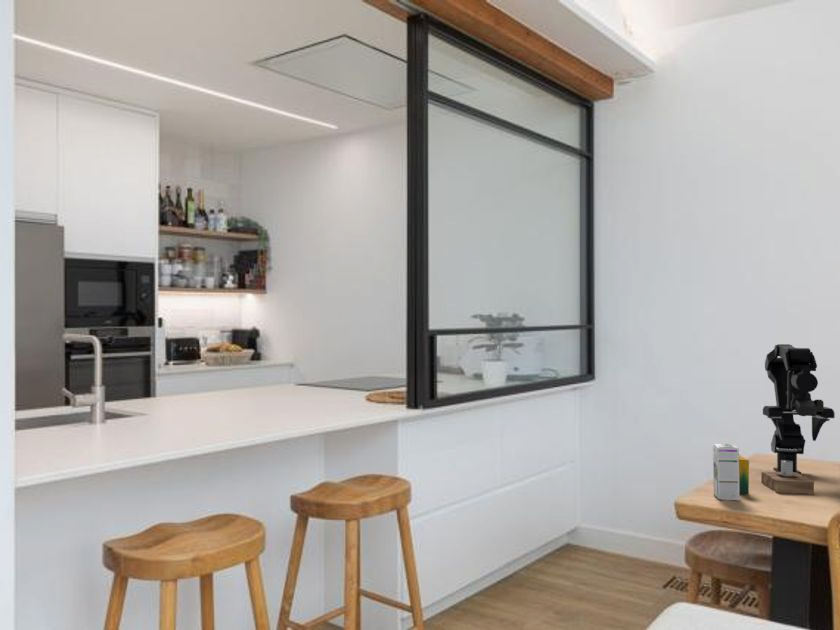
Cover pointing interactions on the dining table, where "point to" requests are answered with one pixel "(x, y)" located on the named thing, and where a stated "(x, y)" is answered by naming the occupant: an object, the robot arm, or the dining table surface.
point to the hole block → (787, 483)
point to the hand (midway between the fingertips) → (798, 440)
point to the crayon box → (743, 475)
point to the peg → (786, 469)
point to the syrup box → (726, 471)
